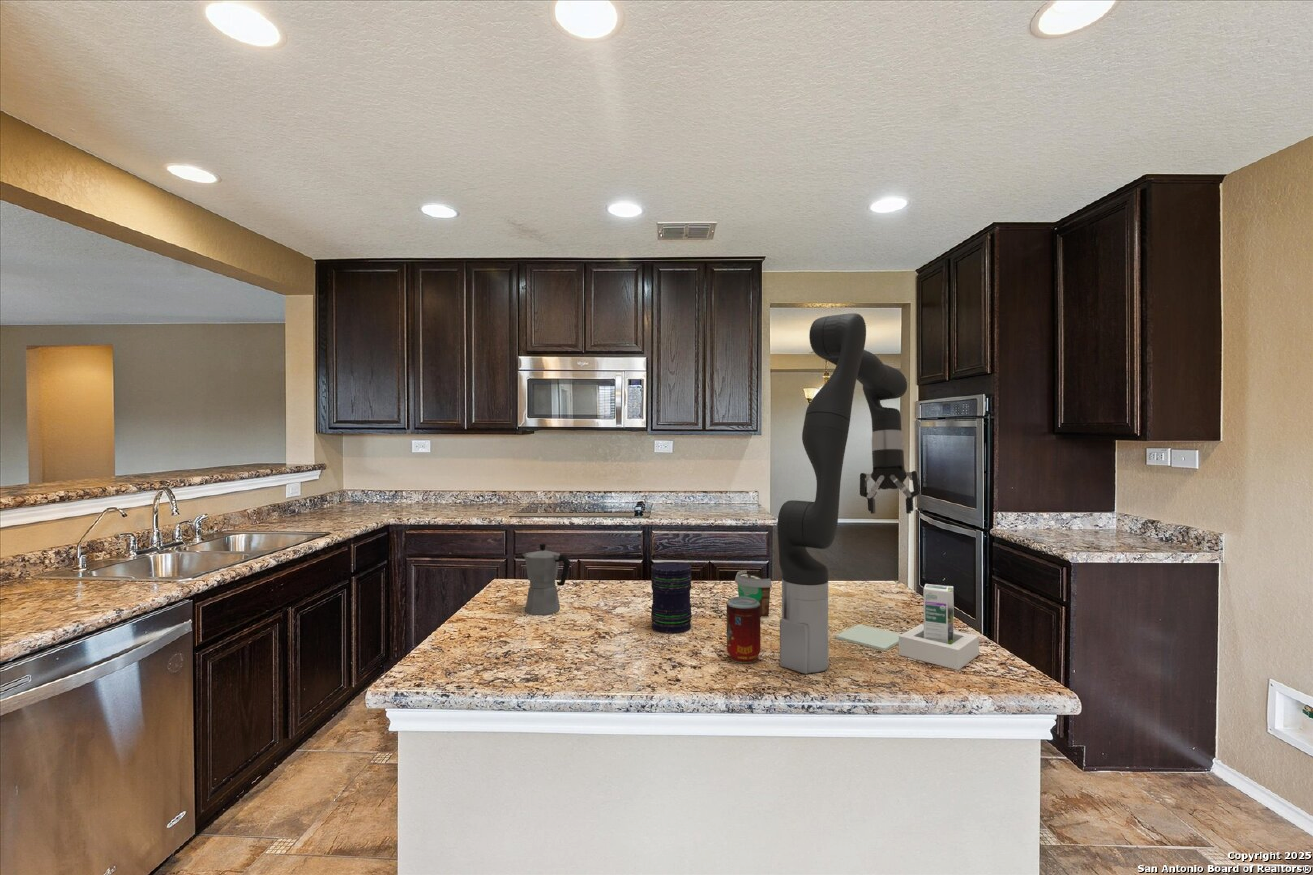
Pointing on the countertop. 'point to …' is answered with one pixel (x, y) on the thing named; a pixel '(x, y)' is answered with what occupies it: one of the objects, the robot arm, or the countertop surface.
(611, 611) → the countertop surface
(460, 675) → the countertop surface
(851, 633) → the green mat
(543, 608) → the coffeepot
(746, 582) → the food container
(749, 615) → the soda can
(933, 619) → the syrup box
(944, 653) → the socket collar
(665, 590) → the storage jar
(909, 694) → the countertop surface
